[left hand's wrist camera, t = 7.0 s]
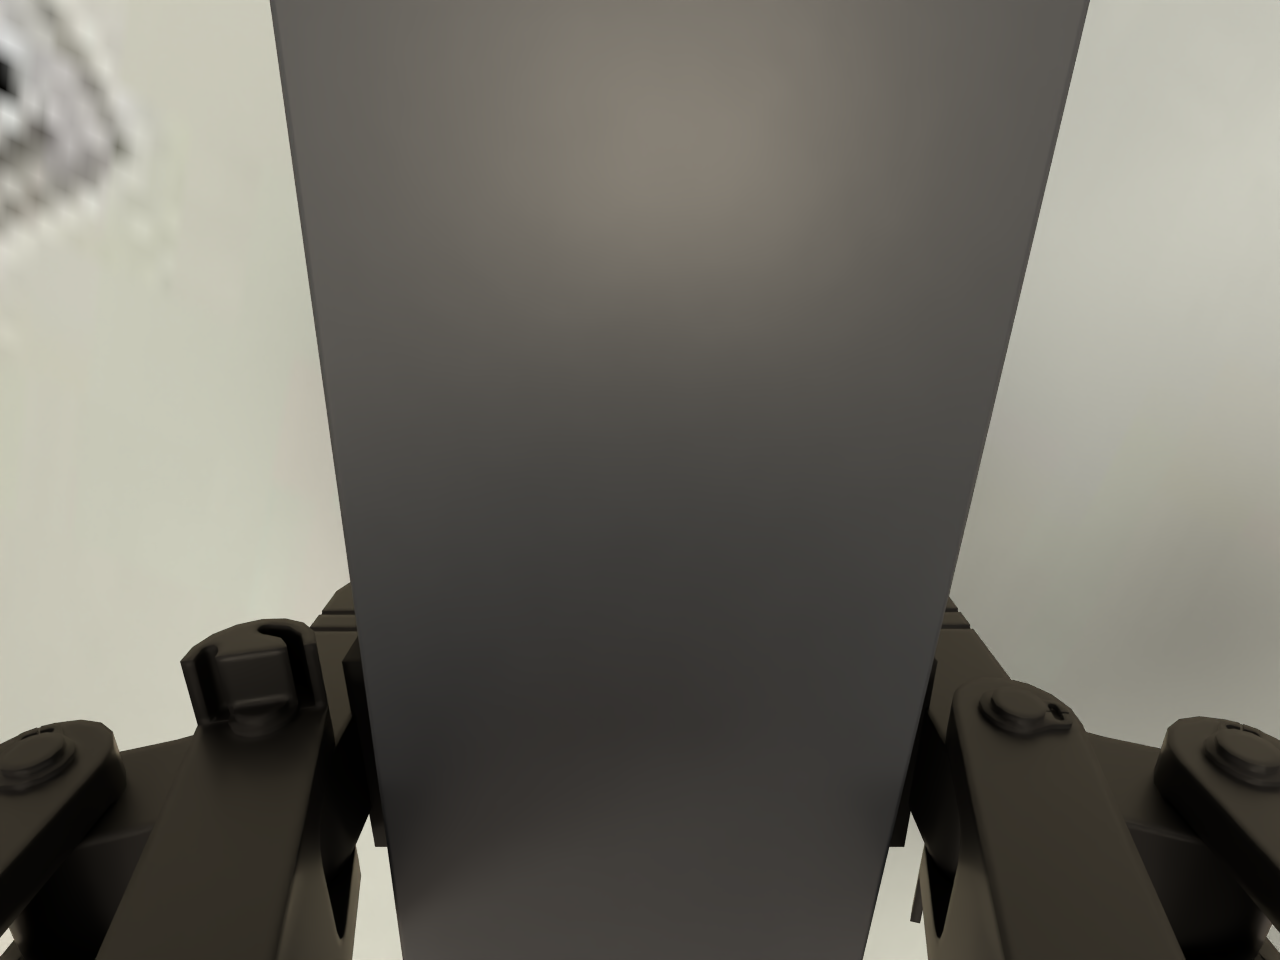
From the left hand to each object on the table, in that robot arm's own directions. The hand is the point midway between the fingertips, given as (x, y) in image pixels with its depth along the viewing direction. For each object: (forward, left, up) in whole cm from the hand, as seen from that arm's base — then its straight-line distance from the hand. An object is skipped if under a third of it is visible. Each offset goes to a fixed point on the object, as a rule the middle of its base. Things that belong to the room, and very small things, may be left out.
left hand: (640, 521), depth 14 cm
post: (+17, -8, 0) cm, 19 cm away
